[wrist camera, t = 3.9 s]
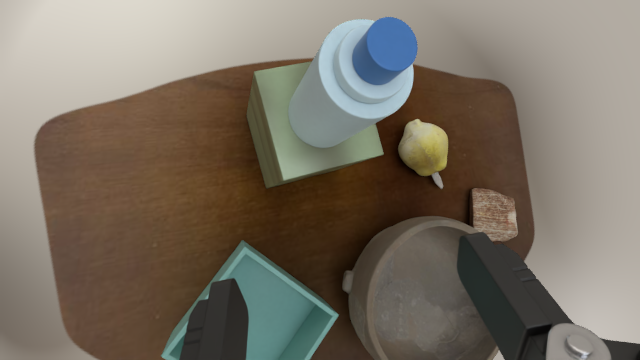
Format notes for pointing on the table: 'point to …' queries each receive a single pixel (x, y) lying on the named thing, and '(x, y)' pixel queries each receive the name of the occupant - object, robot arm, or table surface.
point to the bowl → (416, 295)
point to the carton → (268, 310)
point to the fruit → (424, 149)
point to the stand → (281, 141)
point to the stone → (493, 214)
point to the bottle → (354, 81)
